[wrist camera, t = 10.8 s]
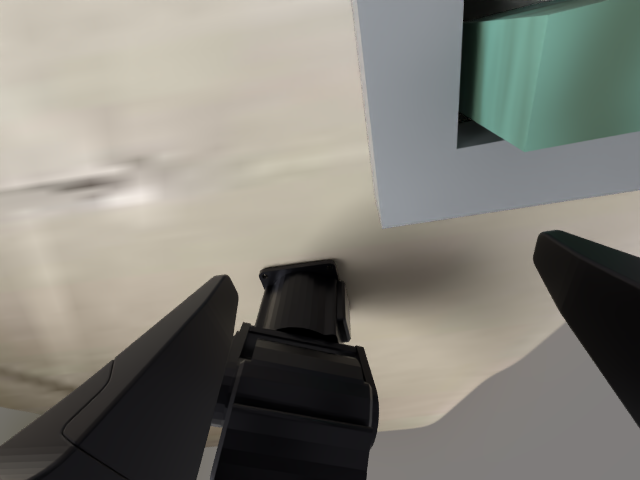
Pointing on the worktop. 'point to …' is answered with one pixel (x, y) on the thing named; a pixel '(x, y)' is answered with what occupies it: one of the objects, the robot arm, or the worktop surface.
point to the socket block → (458, 128)
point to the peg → (553, 72)
